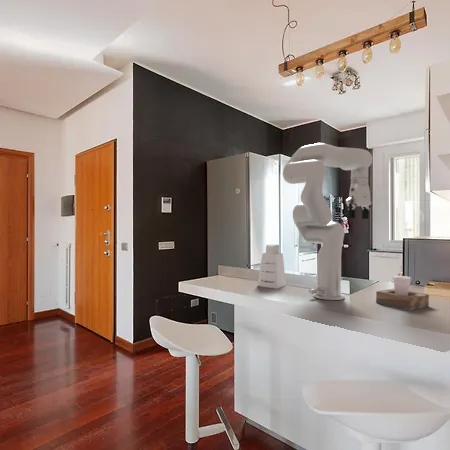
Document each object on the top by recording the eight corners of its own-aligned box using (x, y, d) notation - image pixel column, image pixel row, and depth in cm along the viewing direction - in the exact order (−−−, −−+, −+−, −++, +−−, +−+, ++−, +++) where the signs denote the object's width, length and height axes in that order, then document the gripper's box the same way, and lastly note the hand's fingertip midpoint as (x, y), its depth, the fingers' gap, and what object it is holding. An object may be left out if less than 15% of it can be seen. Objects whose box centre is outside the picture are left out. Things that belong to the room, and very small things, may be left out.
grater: (257, 285, 158) (258, 244, 158) (267, 282, 167) (267, 243, 166) (277, 288, 152) (278, 245, 152) (286, 285, 161) (287, 244, 161)
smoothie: (388, 300, 129) (389, 264, 129) (403, 299, 129) (404, 264, 129) (398, 304, 122) (399, 267, 122) (414, 304, 123) (415, 267, 123)
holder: (409, 310, 117) (409, 298, 117) (376, 302, 128) (376, 291, 128) (428, 306, 124) (428, 294, 124) (395, 299, 135) (395, 288, 135)
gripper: (354, 180, 145) (353, 218, 146) (378, 182, 154) (377, 218, 154) (340, 181, 152) (339, 218, 152) (364, 184, 161) (363, 218, 161)
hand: (358, 218), depth 153 cm, fingers open, 9 cm apart
